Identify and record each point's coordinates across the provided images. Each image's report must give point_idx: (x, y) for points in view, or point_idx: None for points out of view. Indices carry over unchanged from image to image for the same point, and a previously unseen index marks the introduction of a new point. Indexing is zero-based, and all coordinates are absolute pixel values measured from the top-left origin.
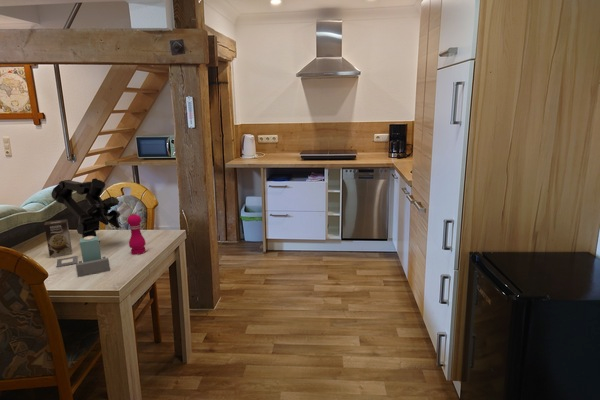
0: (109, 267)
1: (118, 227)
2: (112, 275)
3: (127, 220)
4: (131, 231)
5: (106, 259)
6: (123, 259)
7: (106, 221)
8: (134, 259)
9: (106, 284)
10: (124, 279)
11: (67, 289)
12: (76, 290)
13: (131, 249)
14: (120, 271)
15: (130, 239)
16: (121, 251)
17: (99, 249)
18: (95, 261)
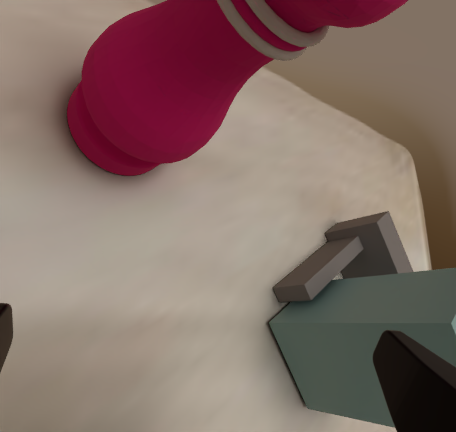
0: (352, 220)
1: (8, 324)
2: (362, 197)
3: (402, 3)
4: (266, 62)
5: (389, 222)
6: (232, 201)
7: (443, 364)
8: (233, 137)
9: (401, 196)
10: (376, 146)
11: None
12: None
13: (146, 162)
14: (338, 176)
15: (219, 119)
16: (78, 275)
17: (405, 275)
18: (407, 267)
